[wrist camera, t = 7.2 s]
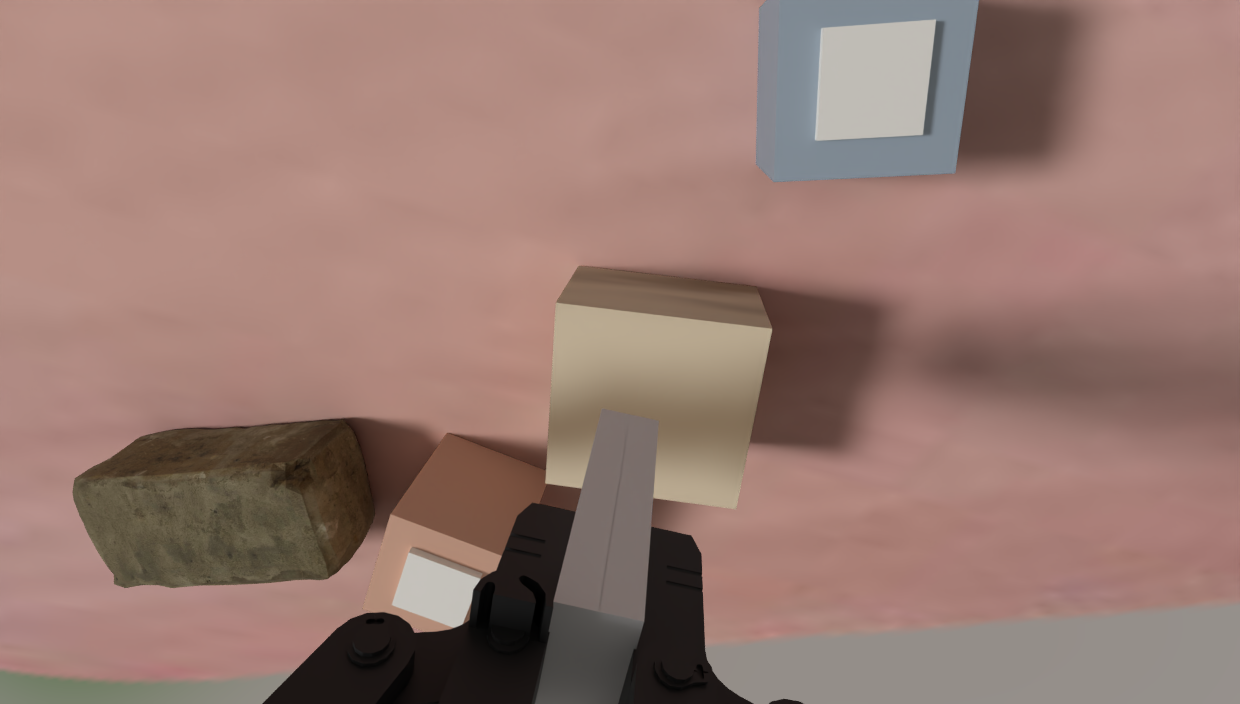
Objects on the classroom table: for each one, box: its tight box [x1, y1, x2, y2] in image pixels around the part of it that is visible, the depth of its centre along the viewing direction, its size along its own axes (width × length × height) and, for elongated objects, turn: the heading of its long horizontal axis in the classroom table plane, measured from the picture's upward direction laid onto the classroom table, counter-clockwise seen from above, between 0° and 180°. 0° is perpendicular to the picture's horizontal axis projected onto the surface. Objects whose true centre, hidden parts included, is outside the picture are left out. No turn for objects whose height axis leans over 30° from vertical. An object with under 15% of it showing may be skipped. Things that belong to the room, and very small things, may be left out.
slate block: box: [756, 0, 979, 182], centre depth 19 cm, size 5×5×5 cm
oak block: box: [545, 266, 772, 509], centre depth 24 cm, size 7×7×5 cm
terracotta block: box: [362, 433, 546, 632], centre depth 27 cm, size 5×5×6 cm
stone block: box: [73, 419, 375, 588], centre depth 28 cm, size 6×12×5 cm, turn 98°
